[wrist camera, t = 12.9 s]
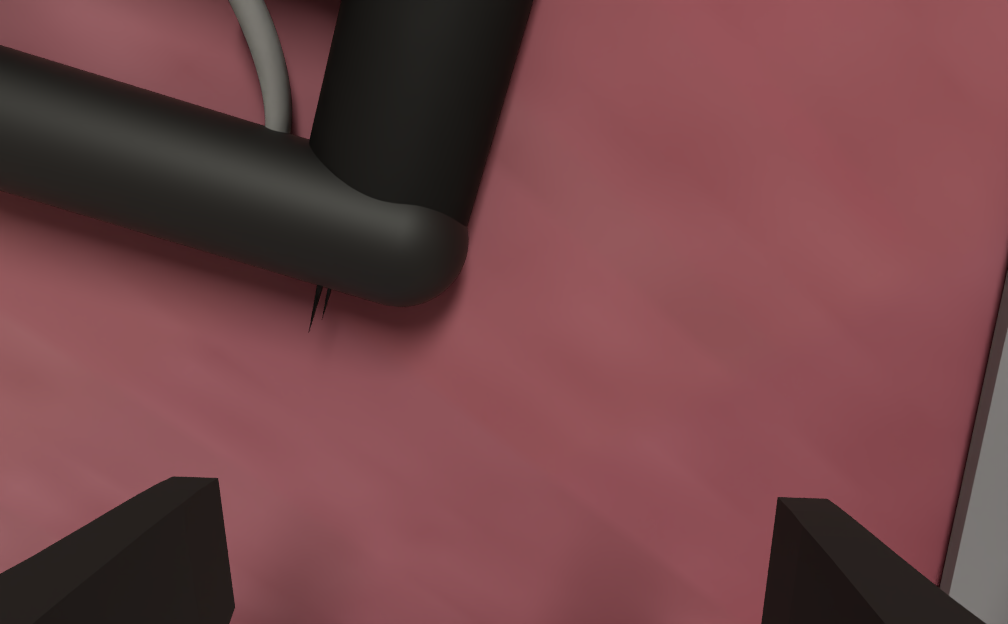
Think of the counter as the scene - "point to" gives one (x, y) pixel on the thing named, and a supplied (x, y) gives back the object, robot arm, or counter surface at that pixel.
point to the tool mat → (984, 497)
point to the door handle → (288, 148)
